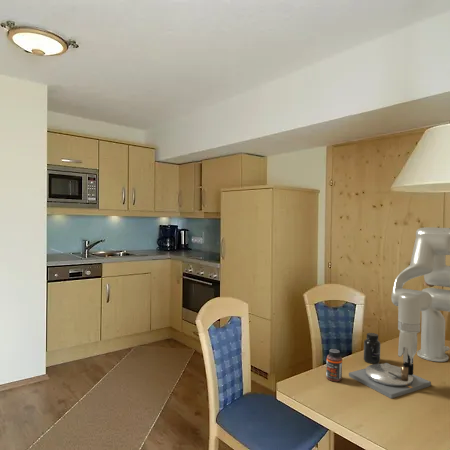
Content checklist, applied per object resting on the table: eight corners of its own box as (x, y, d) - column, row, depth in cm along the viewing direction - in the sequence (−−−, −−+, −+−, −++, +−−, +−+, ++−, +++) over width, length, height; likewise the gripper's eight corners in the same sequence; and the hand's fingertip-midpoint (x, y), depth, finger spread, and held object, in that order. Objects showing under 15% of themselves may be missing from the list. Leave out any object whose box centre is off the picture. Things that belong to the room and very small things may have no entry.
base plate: (386, 366, 158) (386, 362, 158) (430, 385, 140) (430, 381, 140) (348, 376, 148) (348, 372, 148) (391, 398, 130) (391, 394, 130)
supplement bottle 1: (324, 380, 145) (325, 351, 144) (327, 374, 150) (328, 346, 149) (340, 383, 142) (340, 354, 141) (343, 377, 147) (343, 349, 147)
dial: (356, 371, 148) (356, 356, 148) (386, 364, 155) (386, 349, 155) (391, 390, 133) (392, 372, 132) (423, 381, 140) (423, 364, 140)
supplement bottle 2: (377, 365, 159) (378, 337, 159) (361, 361, 163) (362, 334, 163) (381, 360, 164) (382, 333, 164) (366, 356, 169) (366, 330, 168)
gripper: (402, 319, 148) (402, 364, 149) (393, 329, 136) (392, 378, 137) (423, 323, 143) (422, 369, 144) (415, 333, 131) (415, 383, 132)
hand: (408, 373), depth 140 cm, fingers closed
